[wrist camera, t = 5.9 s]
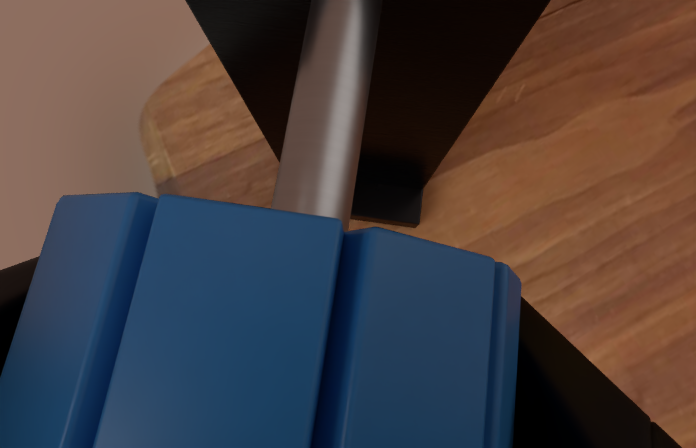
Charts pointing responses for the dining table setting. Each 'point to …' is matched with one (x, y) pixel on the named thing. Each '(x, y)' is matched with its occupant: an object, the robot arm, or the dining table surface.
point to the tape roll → (256, 333)
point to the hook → (363, 90)
